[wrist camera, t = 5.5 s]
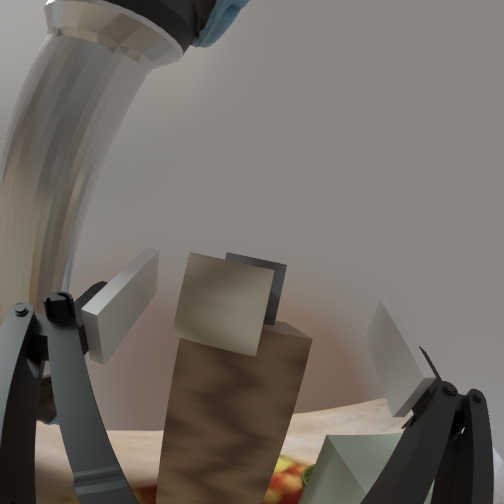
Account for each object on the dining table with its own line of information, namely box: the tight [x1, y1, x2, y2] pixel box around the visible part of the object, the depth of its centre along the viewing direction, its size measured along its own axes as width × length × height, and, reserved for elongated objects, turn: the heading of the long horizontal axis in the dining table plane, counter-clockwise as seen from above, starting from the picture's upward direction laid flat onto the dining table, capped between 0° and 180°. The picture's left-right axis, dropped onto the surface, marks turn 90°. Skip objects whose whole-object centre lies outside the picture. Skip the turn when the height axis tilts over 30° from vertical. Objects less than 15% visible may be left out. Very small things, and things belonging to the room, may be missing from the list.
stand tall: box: [156, 321, 312, 504], centre depth 25 cm, size 10×13×30 cm
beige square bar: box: [172, 252, 287, 356], centre depth 22 cm, size 6×22×6 cm, turn 177°
